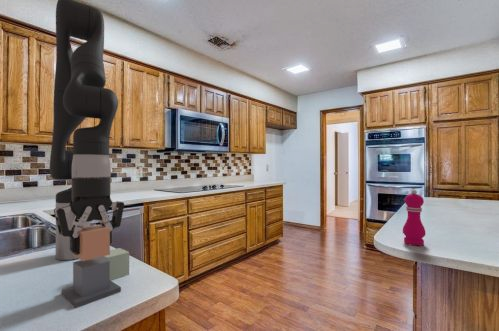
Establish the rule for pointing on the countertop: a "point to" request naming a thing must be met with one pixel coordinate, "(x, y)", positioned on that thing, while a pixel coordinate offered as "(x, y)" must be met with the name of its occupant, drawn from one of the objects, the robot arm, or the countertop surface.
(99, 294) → the tower base
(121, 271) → the brick sage
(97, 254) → the brick terracotta
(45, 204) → the countertop surface
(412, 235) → the pepper mill
